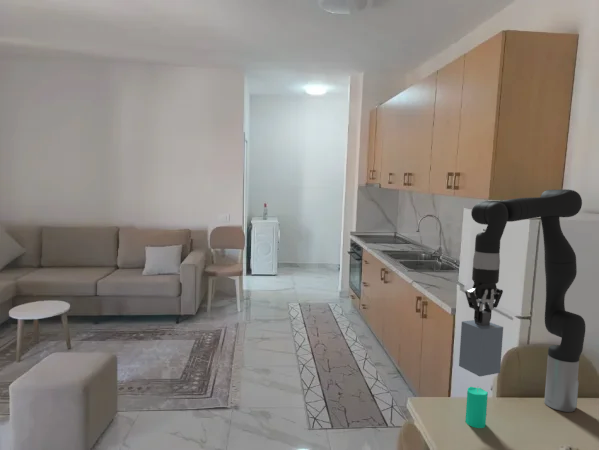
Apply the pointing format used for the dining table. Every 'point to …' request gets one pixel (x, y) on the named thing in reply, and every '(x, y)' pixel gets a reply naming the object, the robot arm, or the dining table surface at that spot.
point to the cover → (481, 346)
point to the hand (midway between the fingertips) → (482, 321)
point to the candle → (476, 407)
